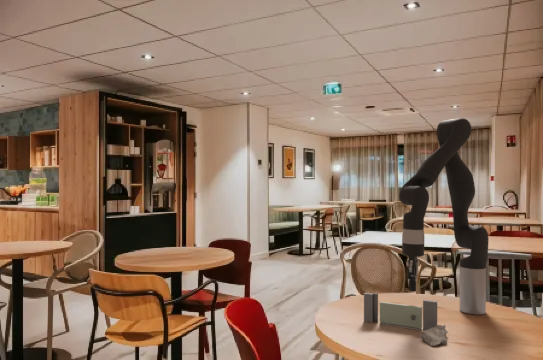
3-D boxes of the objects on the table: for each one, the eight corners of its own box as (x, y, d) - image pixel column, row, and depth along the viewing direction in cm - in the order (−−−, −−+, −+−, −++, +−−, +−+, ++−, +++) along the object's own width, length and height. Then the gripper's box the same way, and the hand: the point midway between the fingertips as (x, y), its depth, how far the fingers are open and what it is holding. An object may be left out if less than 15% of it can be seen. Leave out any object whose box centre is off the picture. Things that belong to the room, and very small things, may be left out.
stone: (460, 341, 134) (460, 328, 134) (435, 348, 127) (435, 334, 128) (442, 335, 139) (442, 323, 139) (417, 341, 133) (417, 328, 133)
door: (380, 321, 150) (380, 301, 150) (421, 327, 144) (421, 306, 144) (379, 323, 148) (379, 303, 148) (421, 329, 142) (421, 308, 142)
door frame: (365, 319, 154) (365, 291, 154) (437, 329, 143) (437, 300, 143) (363, 321, 151) (363, 293, 151) (436, 332, 140) (436, 302, 140)
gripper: (422, 244, 143) (421, 296, 142) (426, 240, 155) (425, 287, 154) (399, 243, 146) (398, 293, 146) (405, 239, 158) (404, 285, 158)
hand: (412, 290), depth 150 cm, fingers closed
